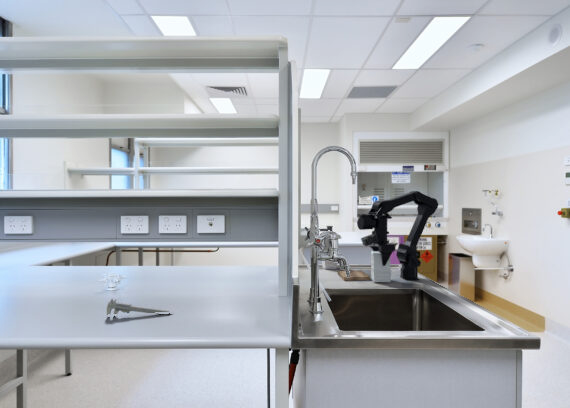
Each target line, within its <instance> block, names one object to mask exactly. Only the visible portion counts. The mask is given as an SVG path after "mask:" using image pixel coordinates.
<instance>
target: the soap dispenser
mask: <svg viewBox="0 0 570 408" xmlns="http://www.w3.org/2000/svg"><path fill="white" fill-rule="evenodd" d="M319 230H320V231H319ZM328 230H330V231H332V232H333V225H326V228H319V229H318V231H319V232H327V231H328ZM321 261H322V260H321ZM321 265H322V266H321V267H322V268H323V269H324V270H338V262H337V263H333V262H329V261H322V263H321Z"/></svg>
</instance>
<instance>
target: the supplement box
mask: <svg viewBox="0 0 570 408" xmlns="http://www.w3.org/2000/svg"><path fill="white" fill-rule="evenodd" d="M370 279H371V280H372V281H373V282H374V283H391V256H390V257H389V259H388V261H387V263H386V265H385V266H383V265H382V258H381V253H380V252H379V251H373V250H371V252H370Z"/></svg>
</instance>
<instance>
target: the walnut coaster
mask: <svg viewBox="0 0 570 408" xmlns="http://www.w3.org/2000/svg"><path fill="white" fill-rule="evenodd" d="M345 271H346V270H338V271H337V275H338V277H340V278H341V279H342V280H343V281H344V282H345V281H346V280H348V281H371V275H368V273H366V272H365V271H364V270H349V271H350V278H347V276H346V273H345ZM348 281H347V282H348Z"/></svg>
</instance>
